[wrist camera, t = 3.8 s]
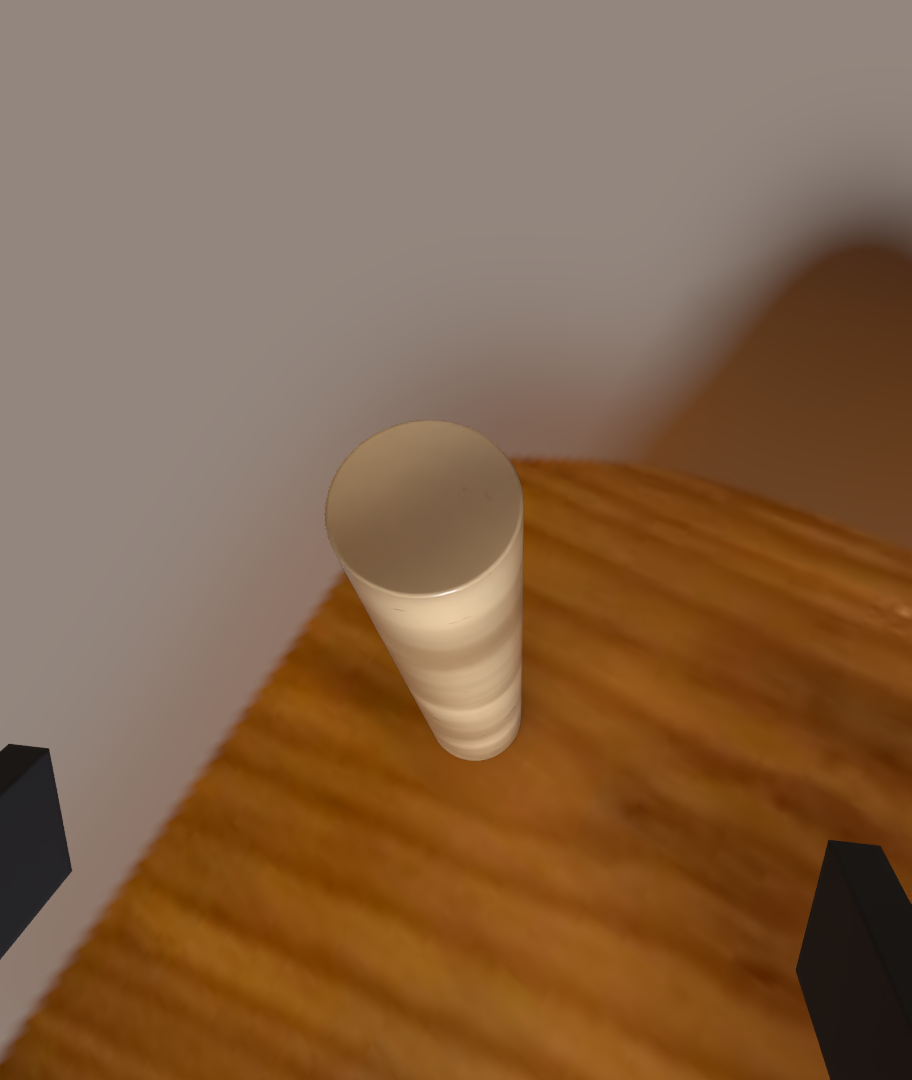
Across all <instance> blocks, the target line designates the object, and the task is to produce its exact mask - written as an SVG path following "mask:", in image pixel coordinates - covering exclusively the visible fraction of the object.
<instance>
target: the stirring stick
mask: <svg viewBox="0 0 912 1080" xmlns="http://www.w3.org/2000/svg"><path fill="white" fill-rule="evenodd" d="M325 525H326V530H327V535H328V538H329V541H330V544H331V546H332V548H333V550H334V552H335V554H336V556H337V558H338V559H339V561H340V563H341V565H342V567H343V569H344V571H345V572H346V574H347V576H348V578H349V580H350V582H351V583H352V585H353V587H354V589H355V591H356V593H357V594H358V596H359V598H360V600H361V602H362V604H363V605H364V607H365V609H366V611H367V613H368V615H369V616H370V618H371V620H372V622H373V624H374V626H375V627H376V629H377V631H378V633H379V635H380V637H381V638H382V640H383V642H384V644H385V646H386V648H387V649H388V651H389V653H390V655H391V657H392V659H393V660H394V662H395V664H396V666H397V668H398V670H399V671H400V673H401V675H402V677H403V679H404V681H405V682H406V684H407V686H408V688H409V690H410V692H411V693H412V695H413V697H414V699H415V701H416V703H417V704H418V706H419V708H420V710H421V712H422V714H423V715H424V717H425V719H426V721H427V723H428V725H429V726H430V728H431V730H432V732H433V734H434V736H435V737H436V739H437V741H438V742H439V743H440V745H441V746H442V747H443V748H444V749H445V750H447V751H448V752H449V753H451V754H452V755H454V756H456V757H459V758H461V759H465V760H471V761H479V760H486V759H489V758H492V757H494V756H496V755H498V754H500V753H501V752H503V751H504V750H505V749H506V748H507V747H508V746H509V745H510V744H511V743H512V741H513V740H514V739H515V737H516V735H517V733H518V730H519V727H520V723H521V699H522V615H523V531H524V500H523V492H522V486H521V483H520V480H519V477H518V474H517V472H516V470H515V468H514V466H513V464H512V463H511V461H510V460H509V458H508V457H507V456H506V454H505V453H504V452H503V451H502V450H501V449H500V448H499V447H498V446H497V445H496V444H495V443H494V442H492V441H491V440H490V439H489V438H487V437H486V436H484V435H482V434H481V433H479V432H477V431H475V430H473V429H471V428H469V427H466V426H463V425H460V424H457V423H452V422H447V421H439V420H419V421H412V422H406V423H403V424H399V425H395V426H392V427H390V428H387V429H385V430H382V431H381V432H379V433H377V434H375V435H373V436H371V437H370V438H368V439H367V440H365V441H364V442H362V443H361V444H360V445H359V446H358V447H357V448H355V449H354V450H353V451H352V452H351V454H350V455H349V456H348V457H347V458H346V459H345V460H344V462H343V463H342V465H341V466H340V467H339V469H338V470H337V473H336V474H335V476H334V478H333V480H332V483H331V485H330V489H329V491H328V495H327V499H326V506H325Z"/></svg>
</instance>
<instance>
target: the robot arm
mask: <svg viewBox="0 0 912 1080" xmlns="http://www.w3.org/2000/svg"><path fill="white" fill-rule="evenodd" d="M71 871H72V868H71V863H70V857H69V852H68V847H67V841H66V837H65V831H64V826H63V820H62V815H61V810H60V805H59V799H58V794H57V788H56V783H55V778H54V773H53V767H52V762H51V757H50V752H49V749H48V748H40V747H31V746H23V745H14V744H8V745H7V746H6V747H5V748H4V749H3V750H1V751H0V959H1V958H2V957H3V956H4V954H5V953H6V952H7V951H8V949H9V948H10V947H11V946H12V944H13V943H14V942H15V941H16V939H17V938H18V937H19V936H20V935H21V933H22V932H23V931H24V930H25V928H26V927H27V926H28V924H29V923H30V922H31V921H32V920H33V918H34V917H35V916H36V915H37V913H38V912H39V911H40V910H41V909H42V907H43V906H44V905H45V904H46V902H47V901H48V900H49V899H50V897H51V896H52V895H53V894H54V893H55V891H56V890H57V889H58V888H59V886H60V885H61V884H62V883H63V881H64V880H65V879H66V878H67V877H68V875H69V874H70V873H71ZM796 973H797V976H798V979H799V982H800V985H801V988H802V992H803V995H804V998H805V1001H806V1004H807V1007H808V1011H809V1014H810V1017H811V1020H812V1023H813V1026H814V1030H815V1033H816V1036H817V1039H818V1042H819V1045H820V1049H821V1052H822V1055H823V1058H824V1061H825V1064H826V1067H827V1071H828V1074H829V1077H830V1080H912V905H911V903H910V901H909V899H908V897H907V895H906V893H905V892H904V890H903V888H902V886H901V884H900V882H899V880H898V878H897V876H896V875H895V873H894V871H893V869H892V867H891V865H890V863H889V861H888V859H887V857H886V856H885V854H884V852H883V850H882V848H881V846H877V845H868V844H860V843H851V842H843V841H834V840H828V844H827V848H826V852H825V856H824V860H823V864H822V868H821V872H820V876H819V880H818V884H817V888H816V892H815V896H814V900H813V904H812V908H811V912H810V915H809V919H808V923H807V927H806V931H805V935H804V939H803V943H802V947H801V951H800V955H799V959H798V963H797V967H796Z"/></svg>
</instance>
